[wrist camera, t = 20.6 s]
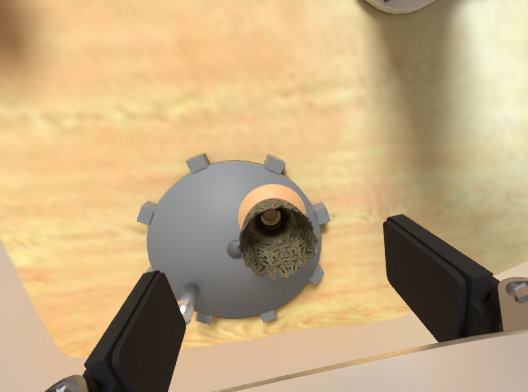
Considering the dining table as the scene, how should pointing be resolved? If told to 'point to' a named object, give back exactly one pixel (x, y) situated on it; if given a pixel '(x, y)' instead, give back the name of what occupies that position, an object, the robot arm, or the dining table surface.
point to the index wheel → (223, 239)
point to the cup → (277, 239)
